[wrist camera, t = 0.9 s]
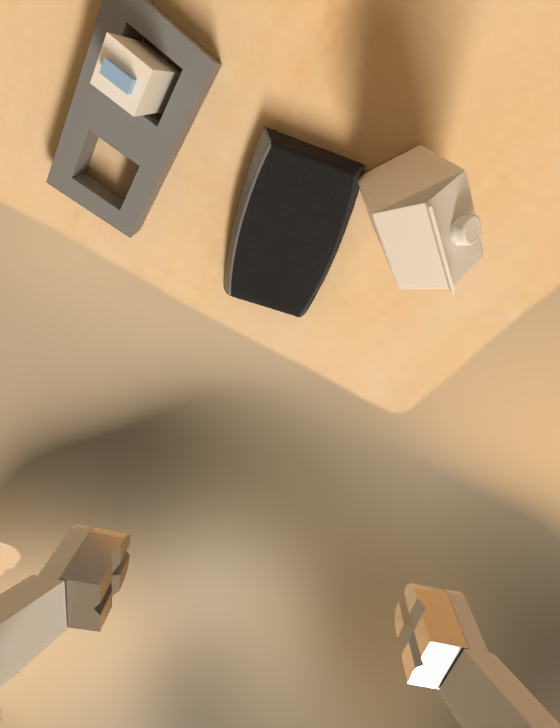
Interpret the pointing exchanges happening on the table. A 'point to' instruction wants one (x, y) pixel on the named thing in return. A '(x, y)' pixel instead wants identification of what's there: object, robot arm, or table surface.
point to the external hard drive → (289, 222)
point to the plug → (134, 75)
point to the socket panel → (130, 117)
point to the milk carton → (423, 219)
